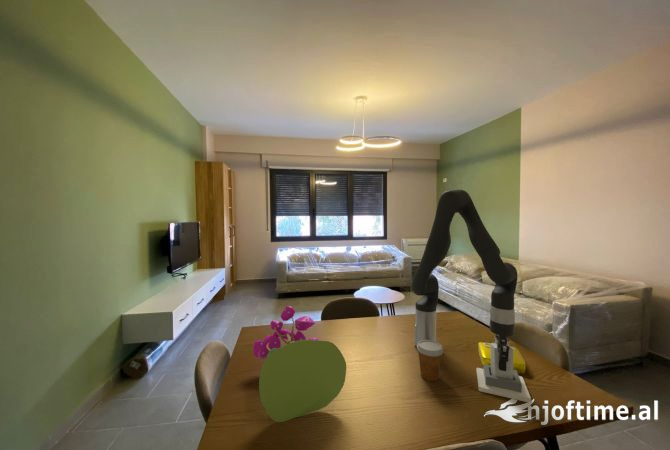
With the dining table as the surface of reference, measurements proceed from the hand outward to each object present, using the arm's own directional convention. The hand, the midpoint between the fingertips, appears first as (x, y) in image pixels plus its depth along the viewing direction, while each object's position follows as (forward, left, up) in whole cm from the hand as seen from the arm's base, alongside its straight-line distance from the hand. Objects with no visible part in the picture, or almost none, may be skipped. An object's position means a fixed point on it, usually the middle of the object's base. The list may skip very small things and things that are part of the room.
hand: (501, 366), depth 97 cm
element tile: (+2, +19, -8) cm, 21 cm away
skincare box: (0, 0, -5) cm, 5 cm away
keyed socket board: (0, 0, -7) cm, 7 cm away
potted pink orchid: (-69, -27, -8) cm, 75 cm away
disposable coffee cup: (-24, -4, -7) cm, 25 cm away
